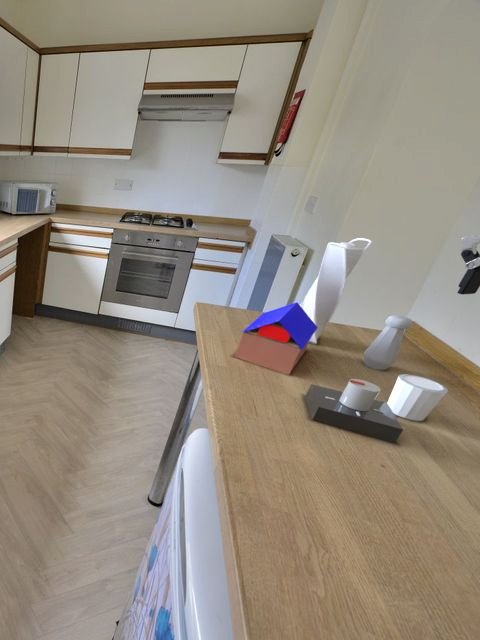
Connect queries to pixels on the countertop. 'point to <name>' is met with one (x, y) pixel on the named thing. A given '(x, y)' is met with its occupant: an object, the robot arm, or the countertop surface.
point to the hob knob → (359, 395)
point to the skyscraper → (330, 283)
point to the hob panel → (353, 414)
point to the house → (277, 338)
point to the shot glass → (415, 396)
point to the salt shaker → (387, 343)
